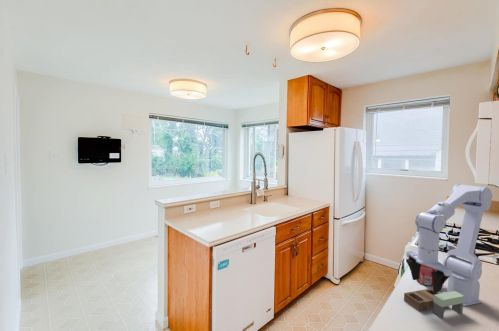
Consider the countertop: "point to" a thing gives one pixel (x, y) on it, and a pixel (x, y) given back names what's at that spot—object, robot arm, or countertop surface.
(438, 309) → the green toy bench
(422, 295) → the post base
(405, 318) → the countertop surface
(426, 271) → the soda can
